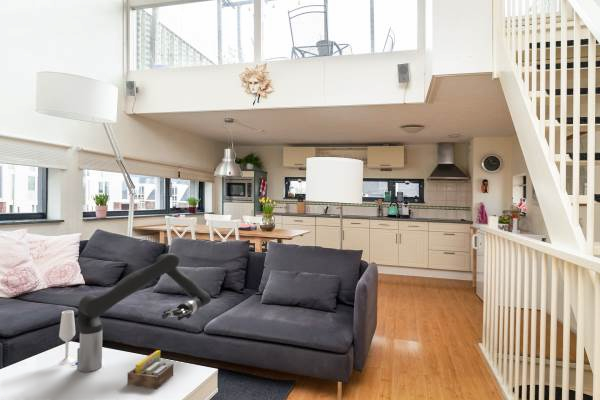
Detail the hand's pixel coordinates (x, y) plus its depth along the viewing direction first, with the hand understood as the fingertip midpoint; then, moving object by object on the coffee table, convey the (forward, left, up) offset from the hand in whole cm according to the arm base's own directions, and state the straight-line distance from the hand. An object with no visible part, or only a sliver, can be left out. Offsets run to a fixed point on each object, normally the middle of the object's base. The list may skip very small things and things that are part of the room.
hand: (170, 317), depth 181 cm
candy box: (0, -18, -21) cm, 27 cm away
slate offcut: (+9, -22, -20) cm, 31 cm away
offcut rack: (+4, -21, -20) cm, 30 cm away
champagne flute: (-46, -15, -20) cm, 52 cm away
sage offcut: (+5, -21, -20) cm, 29 cm away
